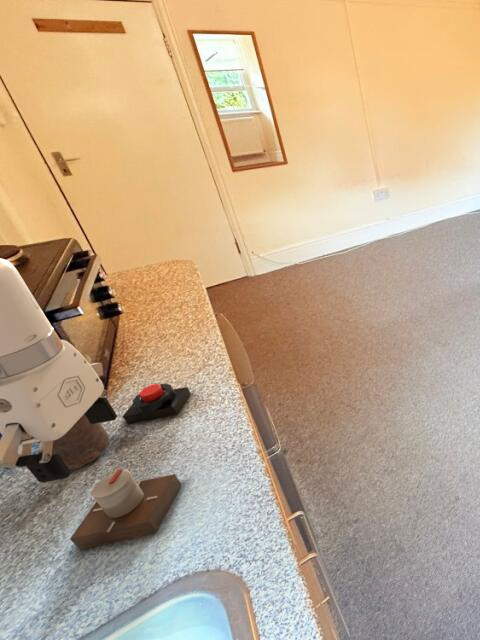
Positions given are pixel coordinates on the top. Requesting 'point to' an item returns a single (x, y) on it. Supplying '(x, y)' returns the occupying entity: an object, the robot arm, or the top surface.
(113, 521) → the panel
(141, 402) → the button box
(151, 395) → the button
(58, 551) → the top surface
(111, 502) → the knob
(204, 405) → the top surface
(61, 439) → the brown textured cylinder
